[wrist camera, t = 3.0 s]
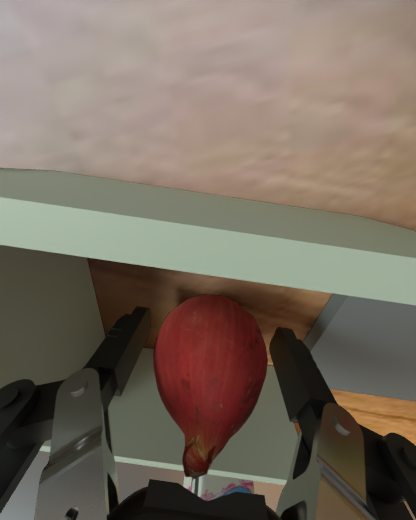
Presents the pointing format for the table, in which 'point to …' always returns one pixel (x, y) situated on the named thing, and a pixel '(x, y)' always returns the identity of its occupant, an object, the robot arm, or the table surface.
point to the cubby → (181, 259)
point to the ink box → (217, 486)
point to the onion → (209, 374)
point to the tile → (366, 346)
